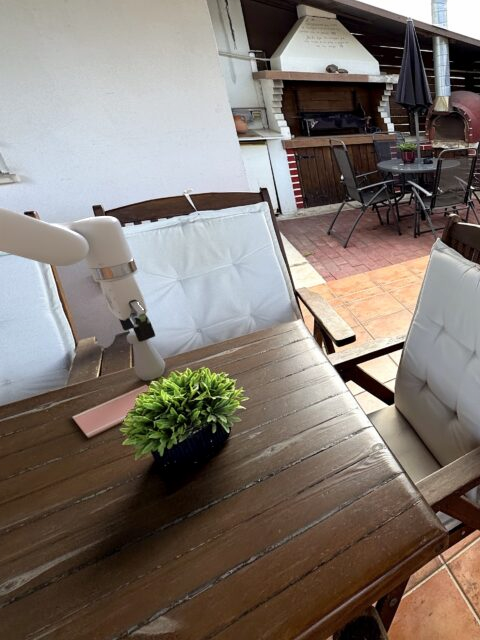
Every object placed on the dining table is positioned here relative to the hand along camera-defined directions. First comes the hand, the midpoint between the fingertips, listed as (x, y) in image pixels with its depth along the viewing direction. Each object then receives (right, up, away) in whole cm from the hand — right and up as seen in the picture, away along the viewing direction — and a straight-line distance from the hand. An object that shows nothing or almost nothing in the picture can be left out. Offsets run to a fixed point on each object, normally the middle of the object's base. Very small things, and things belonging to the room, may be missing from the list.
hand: (139, 333), depth 99 cm
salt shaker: (0, -12, +4) cm, 13 cm away
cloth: (+3, -16, -8) cm, 18 cm away
